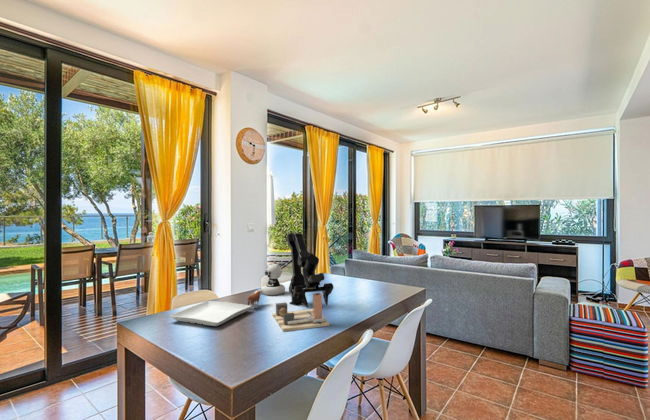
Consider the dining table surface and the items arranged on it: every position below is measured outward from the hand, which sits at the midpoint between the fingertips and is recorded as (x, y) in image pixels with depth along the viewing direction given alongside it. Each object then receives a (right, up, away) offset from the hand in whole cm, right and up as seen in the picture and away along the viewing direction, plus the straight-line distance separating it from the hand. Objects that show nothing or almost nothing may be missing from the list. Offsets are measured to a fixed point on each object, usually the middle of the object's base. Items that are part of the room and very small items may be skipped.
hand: (317, 306), depth 150 cm
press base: (-8, -8, +4) cm, 12 cm away
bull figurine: (-34, -8, +27) cm, 44 cm away
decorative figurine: (-29, -8, +56) cm, 63 cm away
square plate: (-51, -9, +10) cm, 53 cm away
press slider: (-6, -6, -2) cm, 9 cm away
